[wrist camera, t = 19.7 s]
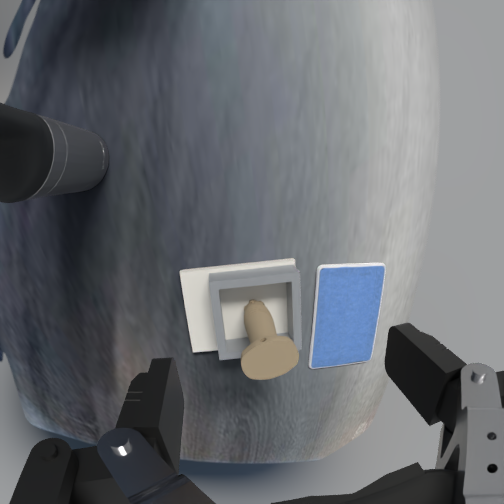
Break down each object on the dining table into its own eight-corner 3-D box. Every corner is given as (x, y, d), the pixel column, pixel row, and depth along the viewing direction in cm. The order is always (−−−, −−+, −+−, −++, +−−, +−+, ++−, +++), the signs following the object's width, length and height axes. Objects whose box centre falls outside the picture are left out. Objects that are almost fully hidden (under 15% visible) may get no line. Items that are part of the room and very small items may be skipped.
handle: (278, 314, 48) (302, 367, 34) (239, 327, 48) (249, 385, 34) (270, 287, 47) (292, 333, 33) (229, 300, 47) (235, 352, 32)
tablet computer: (368, 358, 55) (371, 362, 54) (306, 367, 54) (308, 371, 52) (383, 261, 50) (387, 263, 49) (315, 263, 49) (317, 265, 48)
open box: (193, 348, 50) (191, 365, 45) (180, 269, 46) (176, 280, 41) (295, 336, 51) (303, 352, 46) (293, 258, 48) (301, 267, 43)
